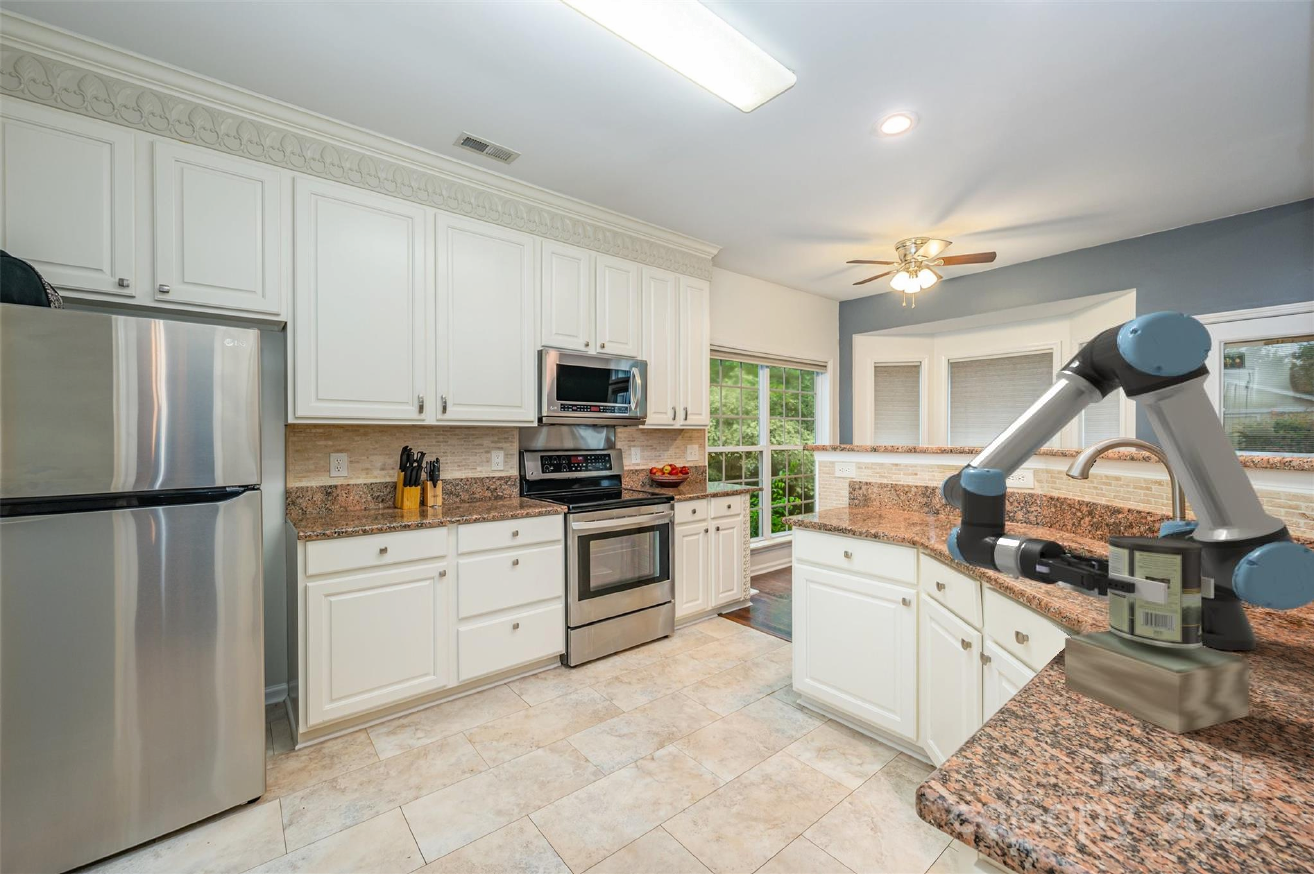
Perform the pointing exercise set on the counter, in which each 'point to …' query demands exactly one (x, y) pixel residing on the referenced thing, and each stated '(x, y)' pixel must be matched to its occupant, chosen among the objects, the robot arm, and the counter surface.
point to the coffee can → (1164, 565)
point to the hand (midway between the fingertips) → (1189, 591)
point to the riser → (1158, 680)
